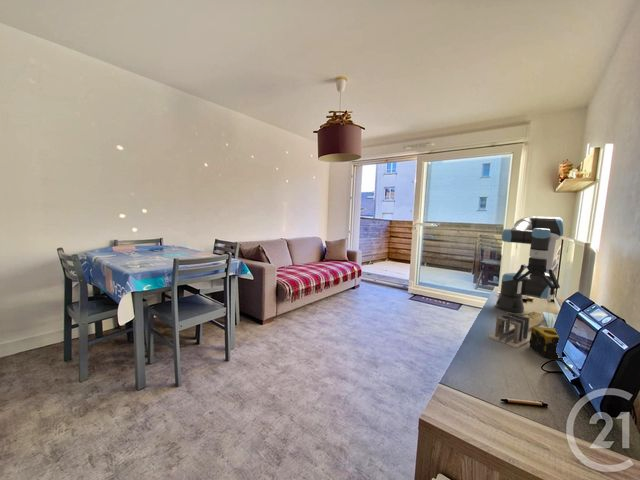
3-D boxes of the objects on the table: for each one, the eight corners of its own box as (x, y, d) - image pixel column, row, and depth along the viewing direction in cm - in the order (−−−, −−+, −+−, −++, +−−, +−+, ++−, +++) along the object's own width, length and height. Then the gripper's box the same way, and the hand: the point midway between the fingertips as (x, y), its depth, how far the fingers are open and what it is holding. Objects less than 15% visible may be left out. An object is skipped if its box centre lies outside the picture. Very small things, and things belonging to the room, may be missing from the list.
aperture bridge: (497, 336, 137) (499, 316, 135) (518, 344, 129) (520, 323, 128) (494, 337, 135) (496, 317, 134) (515, 345, 128) (518, 324, 127)
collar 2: (505, 332, 142) (507, 311, 141) (527, 340, 134) (529, 318, 133) (504, 332, 141) (507, 312, 140) (526, 340, 133) (528, 318, 132)
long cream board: (524, 321, 157) (525, 316, 157) (550, 329, 147) (551, 324, 147) (489, 337, 135) (490, 331, 135) (517, 348, 125) (517, 341, 125)
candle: (551, 348, 126) (554, 327, 125) (569, 360, 116) (572, 337, 115) (528, 346, 127) (530, 326, 126) (543, 358, 117) (546, 335, 116)
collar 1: (499, 334, 139) (502, 313, 137) (521, 342, 131) (524, 320, 129) (498, 335, 138) (501, 314, 137) (520, 343, 130) (523, 321, 129)
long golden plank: (531, 319, 153) (532, 311, 152) (541, 322, 149) (542, 314, 148) (513, 327, 141) (514, 318, 140) (524, 330, 137) (525, 322, 136)
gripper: (508, 254, 153) (504, 291, 155) (565, 262, 132) (559, 305, 134) (514, 253, 157) (510, 289, 159) (571, 261, 136) (565, 302, 138)
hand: (533, 296), depth 147 cm, fingers open, 13 cm apart
